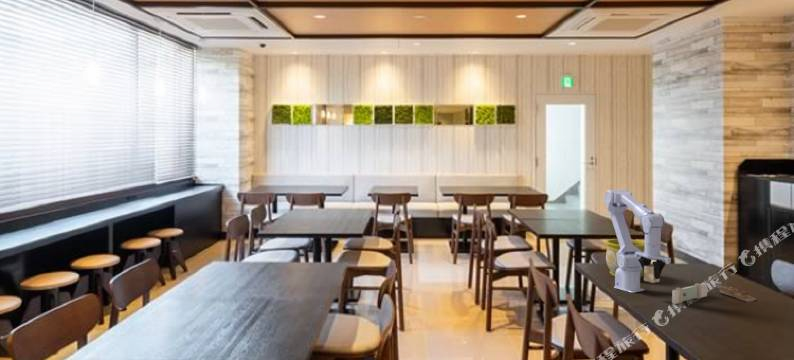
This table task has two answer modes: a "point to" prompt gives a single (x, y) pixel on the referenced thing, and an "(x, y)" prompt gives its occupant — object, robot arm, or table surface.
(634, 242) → the flowerpot
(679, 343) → the table surface
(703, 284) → the wall frame
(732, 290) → the wooden fragment
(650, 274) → the block
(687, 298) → the door
